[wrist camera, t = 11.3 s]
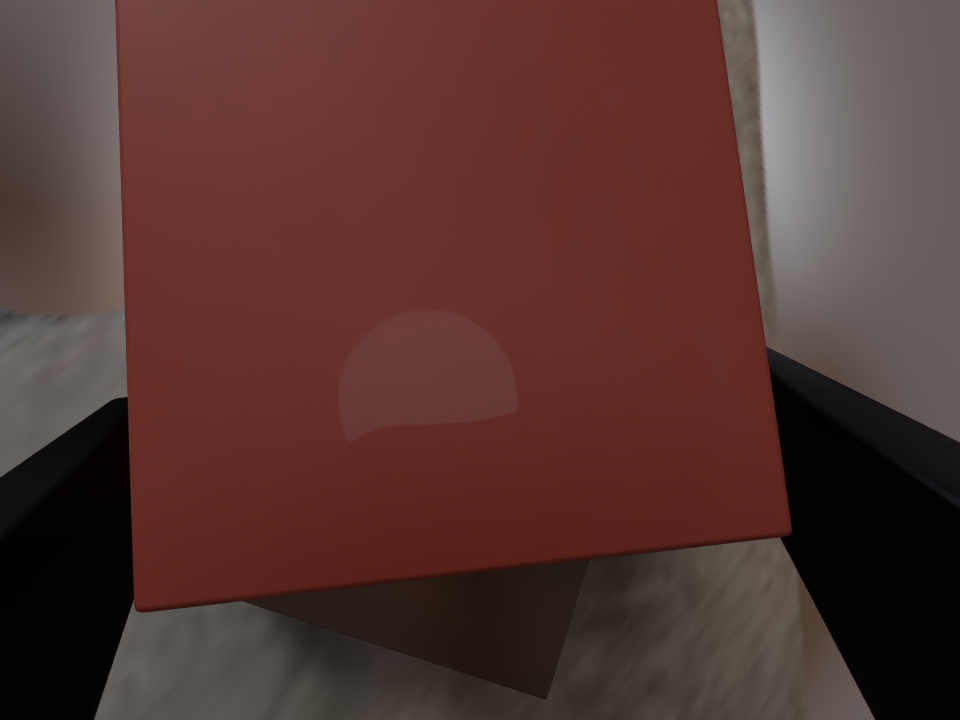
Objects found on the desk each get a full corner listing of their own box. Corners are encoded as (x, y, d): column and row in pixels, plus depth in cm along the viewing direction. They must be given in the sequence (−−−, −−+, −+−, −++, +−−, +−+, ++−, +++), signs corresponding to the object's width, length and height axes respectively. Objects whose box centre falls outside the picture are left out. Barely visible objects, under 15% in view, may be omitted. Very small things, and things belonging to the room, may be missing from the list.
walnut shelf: (524, 636, 20) (547, 700, 16) (233, 540, 20) (171, 579, 15) (620, 330, 22) (666, 309, 17) (351, 234, 21) (325, 188, 17)
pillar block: (529, 439, 16) (798, 538, 4) (373, 454, 16) (129, 617, 4) (515, 287, 17) (713, -50, 4) (362, 299, 16) (110, -37, 4)
